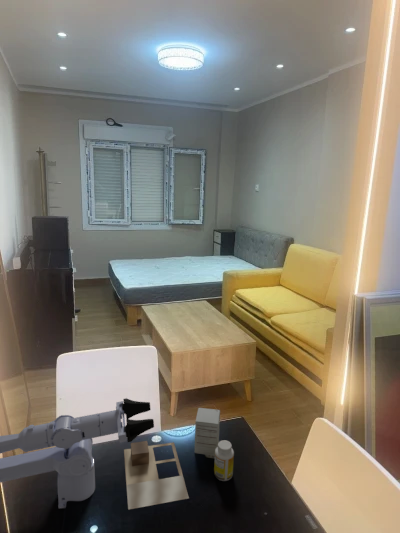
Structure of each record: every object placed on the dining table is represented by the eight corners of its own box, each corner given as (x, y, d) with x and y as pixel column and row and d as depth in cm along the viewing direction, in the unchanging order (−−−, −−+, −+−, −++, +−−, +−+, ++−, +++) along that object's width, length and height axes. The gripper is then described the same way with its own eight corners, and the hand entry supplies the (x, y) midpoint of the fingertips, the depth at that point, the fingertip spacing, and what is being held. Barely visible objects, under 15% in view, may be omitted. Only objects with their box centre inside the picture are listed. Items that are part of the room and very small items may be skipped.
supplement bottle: (230, 467, 110) (232, 437, 107) (234, 481, 104) (236, 451, 102) (212, 467, 109) (214, 438, 107) (215, 482, 104) (216, 452, 101)
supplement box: (197, 440, 120) (198, 406, 118) (219, 443, 120) (220, 409, 117) (193, 456, 113) (194, 421, 111) (217, 459, 112) (218, 423, 110)
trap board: (128, 513, 93) (128, 509, 93) (123, 452, 114) (123, 449, 113) (188, 501, 97) (188, 498, 97) (173, 445, 118) (174, 442, 117)
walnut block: (132, 466, 107) (131, 454, 106) (130, 454, 112) (130, 443, 111) (148, 463, 108) (149, 452, 107) (147, 451, 113) (147, 440, 112)
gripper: (98, 429, 87) (154, 417, 91) (99, 395, 101) (147, 387, 104) (101, 453, 89) (156, 441, 92) (102, 417, 103) (149, 408, 106)
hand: (151, 414), depth 98 cm, fingers open, 7 cm apart
